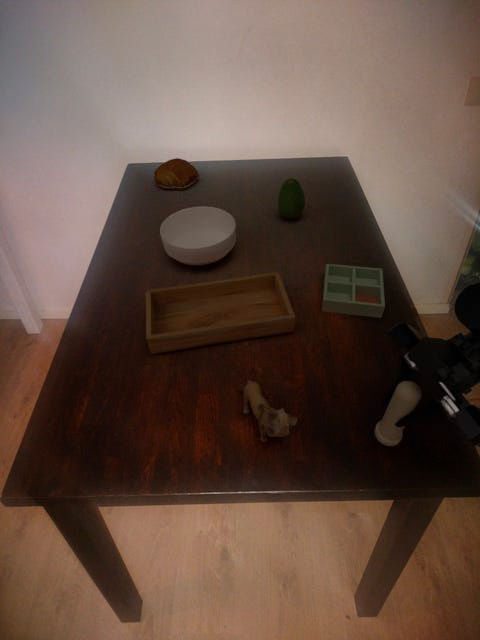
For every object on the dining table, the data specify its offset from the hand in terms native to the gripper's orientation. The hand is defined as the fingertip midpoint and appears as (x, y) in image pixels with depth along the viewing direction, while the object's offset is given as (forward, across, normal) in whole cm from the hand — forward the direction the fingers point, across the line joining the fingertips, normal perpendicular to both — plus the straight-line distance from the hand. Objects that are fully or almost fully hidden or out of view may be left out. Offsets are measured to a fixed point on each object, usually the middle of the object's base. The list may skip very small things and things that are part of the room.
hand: (389, 415), depth 55 cm
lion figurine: (+20, -11, -2) cm, 23 cm away
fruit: (-1, -73, +19) cm, 75 cm away
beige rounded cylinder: (+4, 0, +6) cm, 7 cm away
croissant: (+19, -108, -1) cm, 109 cm away
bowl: (+20, -64, -2) cm, 67 cm away
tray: (+21, -38, -3) cm, 43 cm away
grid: (-2, -36, +19) cm, 41 cm away
